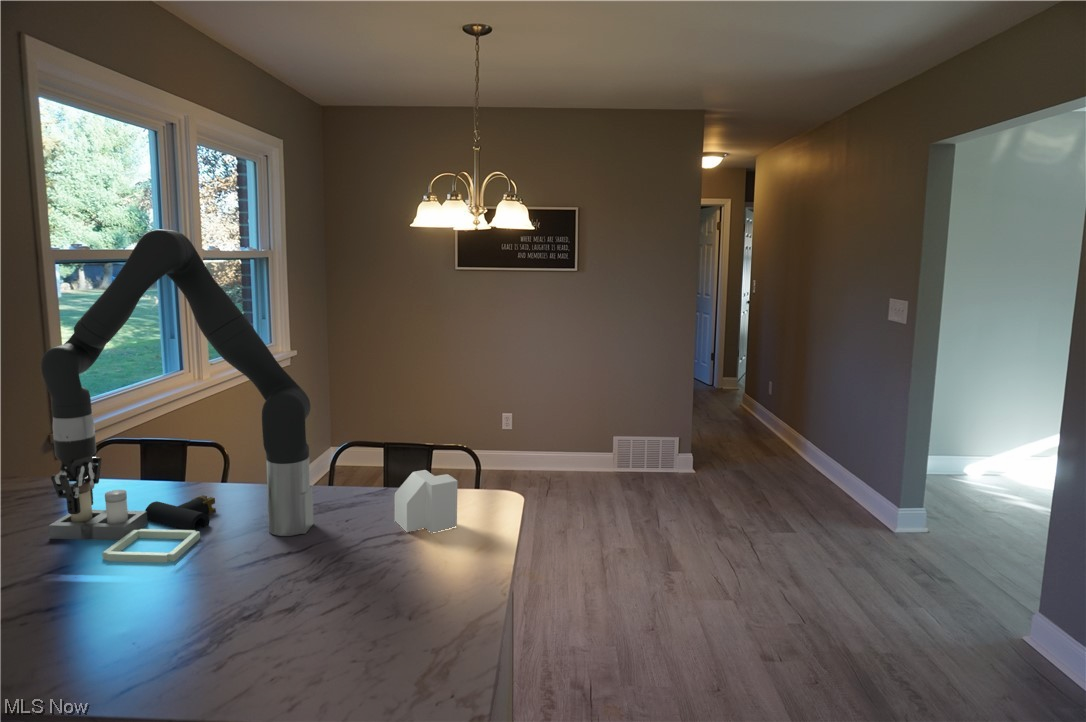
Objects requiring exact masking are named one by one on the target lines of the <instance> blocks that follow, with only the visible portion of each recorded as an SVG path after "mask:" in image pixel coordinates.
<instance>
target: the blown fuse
mask: <svg viewBox="0 0 1086 722" xmlns="http://www.w3.org/2000/svg"><path fill="white" fill-rule="evenodd" d="M74 483H76V482H74ZM71 490H72V492H73V490H74V488H73V487H71ZM78 497H79V502H80V513H78V514H71V522H72V523H86V522H88V521H89V520H91V519H93V515H92V510H93V507H92V506H93V505H92V504H91V493H90V482H87V481H82V486H81V487H79V496H78Z"/></svg>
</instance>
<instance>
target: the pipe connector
mask: <svg viewBox="0 0 1086 722" xmlns="http://www.w3.org/2000/svg"><path fill="white" fill-rule="evenodd" d="M214 504H216V498H215V497H212V496H210V497H208V496H207V495H204V494H203V495H200V496H197V497H195V498H192V499H191V500H189V501H186V502H185V503H182V504H179V505H172V504H169V503H165V502H160V501H157V500H156V501H153V502H151V503H149V504H148V505H147V506H146V507H145V510H144V511H147V522H150V523H151V522H152V523H155V524H158V525H163V526H167V527H170V528H174V529H176V530H196V531H198V530H197V529H196V527H199V528H202V529H205V528H207V527H209V525H210V517H209V515H211V514H212V513H215V512H216V511H217V510H216V508H215V507H213V505H214ZM198 532H199V531H198Z"/></svg>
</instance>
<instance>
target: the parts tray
mask: <svg viewBox="0 0 1086 722" xmlns="http://www.w3.org/2000/svg"><path fill="white" fill-rule="evenodd" d="M196 530H197V529H196ZM196 530H180V529H165V528H164V529H161V528H160V529H159V528H141V529H140V530H133V531H131V532H130V533H129V534H127V535H126V536H125V537H123V538H122V539H120V540H117V541H116V542H115V543H113V544H112V545H110V547H108V548H106V549H105V550H104V551H102V560H106V561H107V562H124V563H126V562H129V563H130V562H131V563H132V562H133V563H134V562H135V563H163V564H164V563H166V564H167V563H168V562H175V561H177V560H178V559H179V558H180V557H181V556H182V555H183V556H182V557H181V559H179V560H178V561H177V562H176V563H175V564H174V566H176V565H177V564H178V563H180V561H181V560H182V559H184V558H185V557H186V556H187V555H189V553H191V552H192V549H190V548H191V547H192V546H194V545H195V543H196V545H195V546H194V547H193V549H195V548H196V547H197V546H198V545H199V544H200V543H201V541H199V540H200V539H201V531H196ZM138 538H140V539H166V540H167V539H172V540H173V539H177V540H183V541H181V542H180V543H179V544H178V545H177V546H176V547H175V548H173V549H172V550H171V551H170V552H157V551H156V552H149V551H145V552H143V551H122V550H124V549H125V548H127V547H128V546H129V545H130V544H133V542H135V541H136V540H137V539H138ZM198 541H199V542H198ZM197 542H198V543H197ZM189 549H190V551H188V550H189ZM187 551H188V552H187ZM185 552H187V553H186V554H185ZM184 554H185V555H184Z"/></svg>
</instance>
